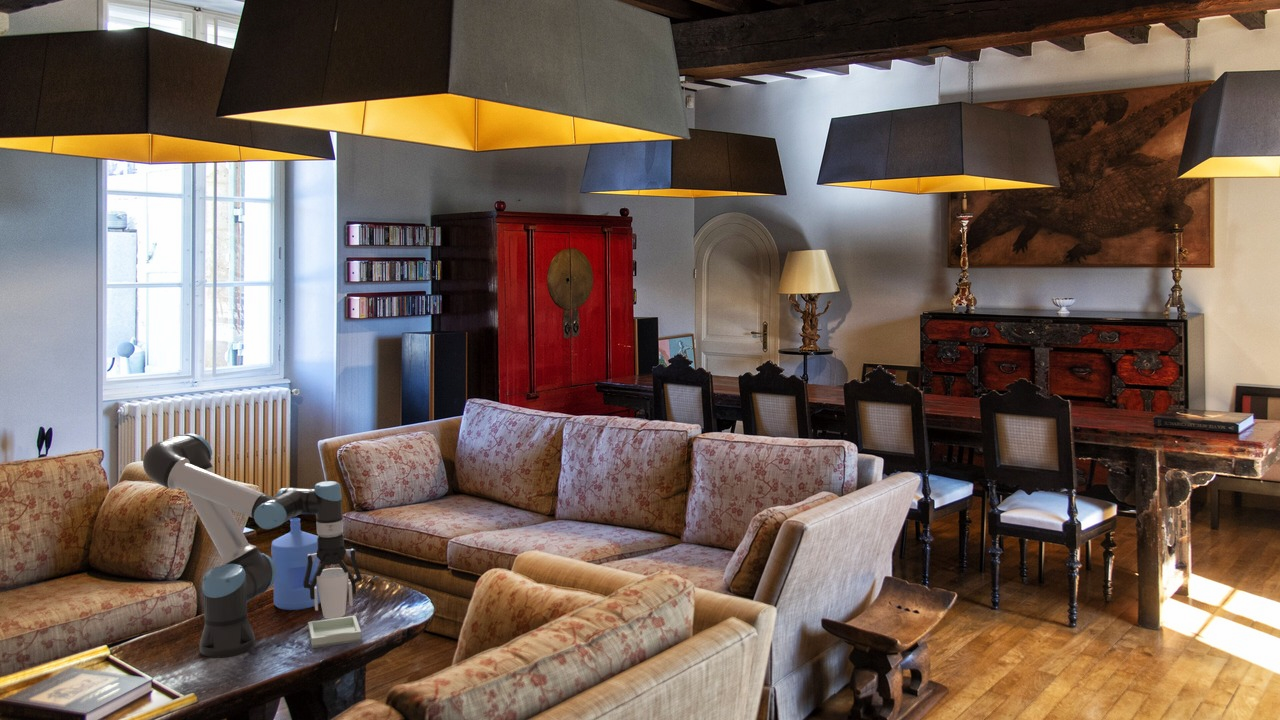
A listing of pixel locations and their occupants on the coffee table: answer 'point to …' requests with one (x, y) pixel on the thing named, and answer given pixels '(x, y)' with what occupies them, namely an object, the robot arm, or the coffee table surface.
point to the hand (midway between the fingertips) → (333, 606)
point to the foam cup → (333, 592)
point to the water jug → (293, 568)
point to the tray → (334, 631)
